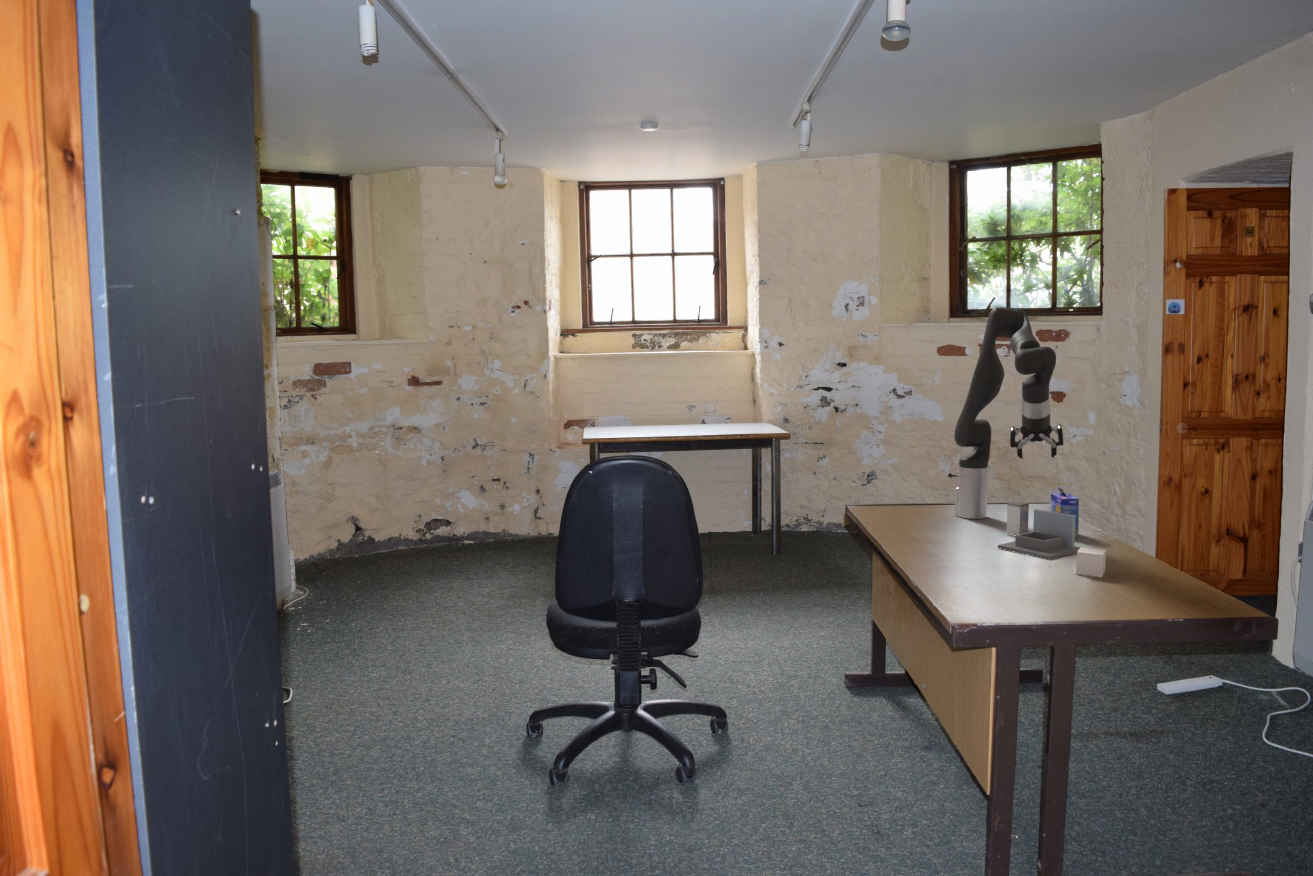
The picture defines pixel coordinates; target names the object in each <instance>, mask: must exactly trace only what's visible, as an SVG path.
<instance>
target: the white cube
mask: <svg viewBox="0 0 1313 876" xmlns="http://www.w3.org/2000/svg"><path fill="white" fill-rule="evenodd" d="M1080 547H1081V546H1080ZM1106 559H1107V549H1099V548H1092V547H1081V548H1080V549H1079V550H1078V551H1077V552H1076V563H1075V564H1076V565H1075V566H1076V567H1075V568H1076V569H1075V570H1076V571H1075V575H1078V574H1083V575H1082V576H1086V575H1091V576H1090V577H1094V576H1099V577H1098V578H1101V577H1102V578H1103V576H1104V575H1105V573H1104V572H1106V562H1107V561H1106ZM1103 574H1104V575H1103Z"/></svg>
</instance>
